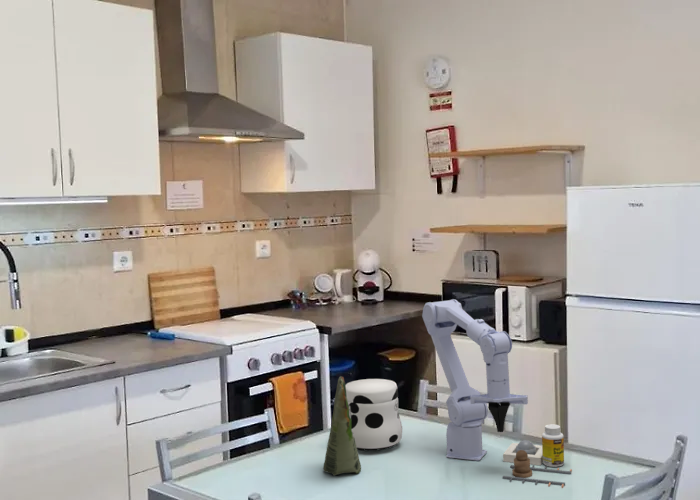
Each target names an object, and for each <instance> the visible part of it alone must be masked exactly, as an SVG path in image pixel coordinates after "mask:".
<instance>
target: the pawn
mask: <svg viewBox="0 0 700 500" xmlns="http://www.w3.org/2000/svg"><path fill="white" fill-rule="evenodd" d="M513 465H514V468H512V470H511V473H512V475H511V476H512V477H520V478H531V477H532V476H533V470H531V469H530V467H531V464H530V459H529V458H528V455H527V453H526V451H524V450H519V451H518V452H517V453H516V458H514V463H513Z"/></svg>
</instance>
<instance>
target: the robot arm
mask: <svg viewBox="0 0 700 500" xmlns="http://www.w3.org/2000/svg"><path fill="white" fill-rule="evenodd" d="M421 317H422V320H423V322H424V325H425V328H426V330H427V333H428V334H429V335H430V338H431V340H432V343H433V346H434V348H435V351H436V354H437V356H438V358H439V361H440V365H441V367H442V371H443V372H444V375H445V378H446V381H447V383H448V386H449V389H450V391H451V393H450V394H449V396H448V398H447V399H446V401H445V403H446V406H447V414H448V418H449V420H450V421H451V422H449V423H448V424H447V425H446V435H445V436H446V437H445V438H446V458H449V459H458V460H466V461H467V460H468V461H481V459H482V458H483V457H485V455H486V454H487V453H488V450H487V449H483V427H482V424H484V423H485V420H486V418H488V413H489V412H490V414H491V416H492V417H493V420H494V423H495V426H496V431H497V433H503V432H504V430H505V429H504V428H505V421H506V417H507V414H508V410H509V408H510V405H514V404H518V405H519V404H520V405H521V404H522V405H528V404H529V399H528V395H523V394H512V393H511V389H510V388H511V387H510V375H509V371H510V370H509V353H511V351H512V348H513V340H512V338H511V336H510V334H508V332H507V331H505V330H503V331H497V330H496V329H495V328H494V327H492V326H490V325H489V324H488V323H487V322H485V320H484V319H482V318H480V319H479V318H476V319H474V318H473V317H472V316H471V315H470V314H468V313H467V312H466V310H464V309H463V307H462V303H461V302H459V301H458V300H457V299H454V298H452V299H449V300H442V301H441V300H440V301H433V302H431V301H429V302H425V304H424V306H423V308H422V314H421ZM457 327H460V328H462V329H463V330H465V331H466V335H467V337H468V338H469V339H470V340H471V341H473V342H474V343H475V344H477V345H478V346H479V347H480V348H479V349H480V351H481V353H482V357H483V359H482V360H483V361H484V363H485V370H486V374H485V375H486V391H487V392H486V394H481V393H480V390H478V389H475V388H473V386H470V384H469V381H468V379H467V378H468V377H467V375H466V373H465V370H464V368H463V365H462V362H461V359H460V358H459V355H458V351H457V350H456V347H455V344H454V342H453V339H452V335H451V334H452V333H453V332H455V330H456V329H457Z"/></svg>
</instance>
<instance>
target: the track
mask: <svg viewBox="0 0 700 500" xmlns="http://www.w3.org/2000/svg"><path fill="white" fill-rule="evenodd" d="M509 467H510V468H511V469H514V464H511V465H509ZM547 467H548V466H546V465H545V466H544V468H542V467H535V465H533V464H532V466H530V469H531V470H532V471H533V472H534V471H537V472H544V473H552V474H553V473H554V474H555V473H556V474H561V475H562V474H564V475H572V471H573V470H572V468H570V469H569V470H562V469H561V470H560V468H559V467H557V468H556V469H552V468H547ZM501 478H502V479H503V480H509V483H511V482H512V481H520V482H521V483H522V484H524V483H526V482H529V483H534V485H536V486H537V485H538V483H539V484H546V485H547V484H548V485H547V486H548V487H550V486H551V485H557V486H561V489H564V487H565V486H566V482H563V481H555V480H545V479H538V478H537V479H536V478H530V477H528V478H520V477H515V476H512V475H511V476H510V475H502V477H501Z"/></svg>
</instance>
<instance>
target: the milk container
mask: <svg viewBox="0 0 700 500" xmlns="http://www.w3.org/2000/svg"><path fill="white" fill-rule="evenodd" d="M345 386H346V394H347V401H348V405H349V416H350V418H351V430H352V434H353V437H354V438H355V442H356V447H357V451H367V452H369V451H371V452H372V451H373V452H374V451H375V452H376V451H383V450H387V449H391V448H394V447H395V446H397V445H398V444H399V443H400V442H401V440H402V437H403V423H402V420H401V417H400V413H399V398H398V397H399V391H398V385H397V383H396V382H395V381H394V380H391V379H384V378H366V379H358V380H352V381H349V382H347V383H345Z"/></svg>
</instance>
